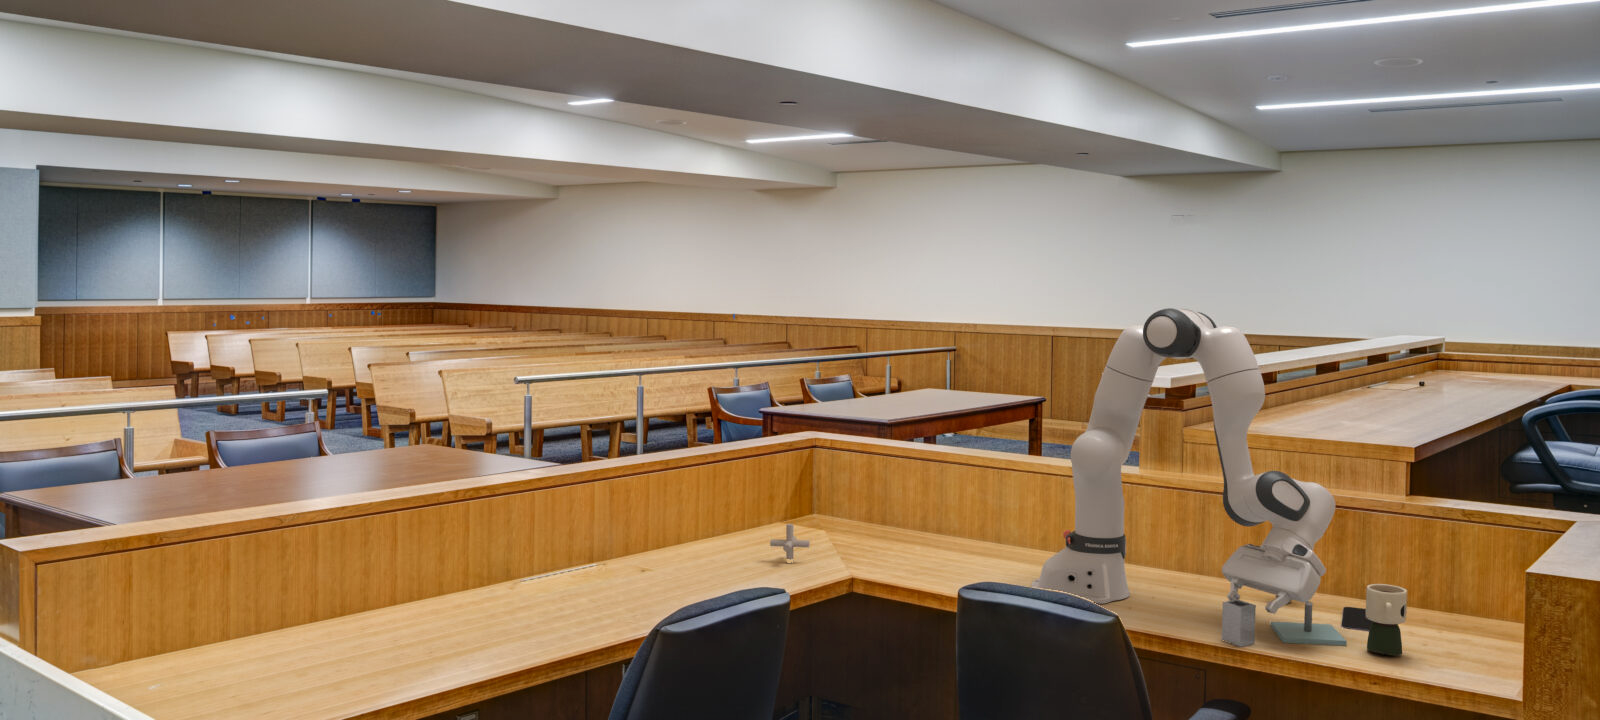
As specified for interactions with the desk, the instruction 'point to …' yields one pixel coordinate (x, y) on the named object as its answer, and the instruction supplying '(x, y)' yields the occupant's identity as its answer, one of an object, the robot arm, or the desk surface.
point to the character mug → (1385, 617)
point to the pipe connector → (789, 542)
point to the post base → (1308, 631)
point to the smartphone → (1355, 619)
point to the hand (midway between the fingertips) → (1250, 605)
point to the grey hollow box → (1238, 622)
